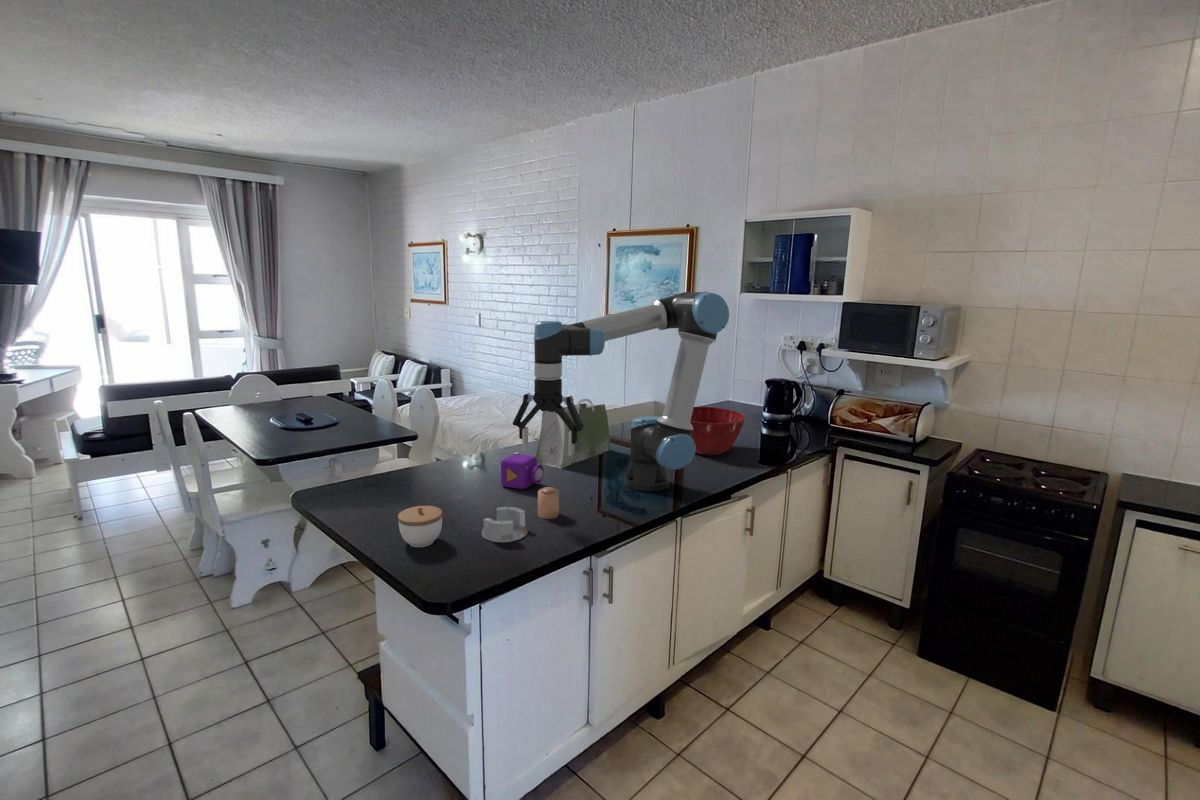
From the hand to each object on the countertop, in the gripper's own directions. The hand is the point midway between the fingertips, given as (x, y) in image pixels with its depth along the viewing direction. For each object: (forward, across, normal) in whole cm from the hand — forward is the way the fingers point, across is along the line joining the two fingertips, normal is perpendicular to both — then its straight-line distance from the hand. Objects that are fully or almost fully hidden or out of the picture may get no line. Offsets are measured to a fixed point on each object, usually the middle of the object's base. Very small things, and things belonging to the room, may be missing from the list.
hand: (547, 452), depth 159 cm
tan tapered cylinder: (+19, 0, 0) cm, 19 cm away
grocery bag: (+19, +10, -58) cm, 62 cm away
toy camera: (+19, +16, -21) cm, 32 cm away
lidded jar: (+19, +25, +26) cm, 41 cm away
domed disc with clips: (+19, +7, +15) cm, 25 cm away
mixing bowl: (+19, -40, -82) cm, 93 cm away
